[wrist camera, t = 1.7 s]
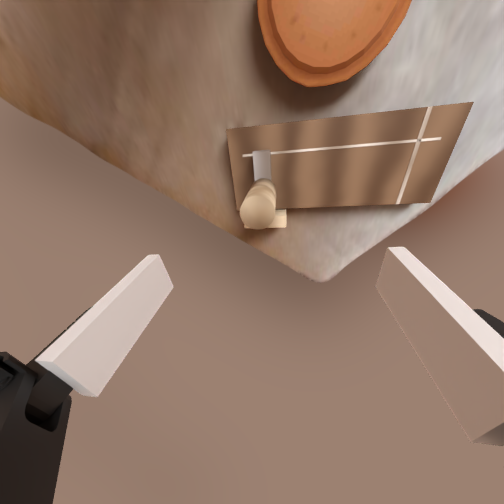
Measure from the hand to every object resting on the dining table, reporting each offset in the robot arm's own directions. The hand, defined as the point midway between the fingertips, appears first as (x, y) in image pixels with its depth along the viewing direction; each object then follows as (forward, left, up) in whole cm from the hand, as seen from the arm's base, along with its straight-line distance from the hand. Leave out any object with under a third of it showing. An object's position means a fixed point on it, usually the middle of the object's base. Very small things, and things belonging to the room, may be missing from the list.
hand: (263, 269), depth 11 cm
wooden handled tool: (0, -2, -24) cm, 25 cm away
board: (+3, +8, -25) cm, 26 cm away
